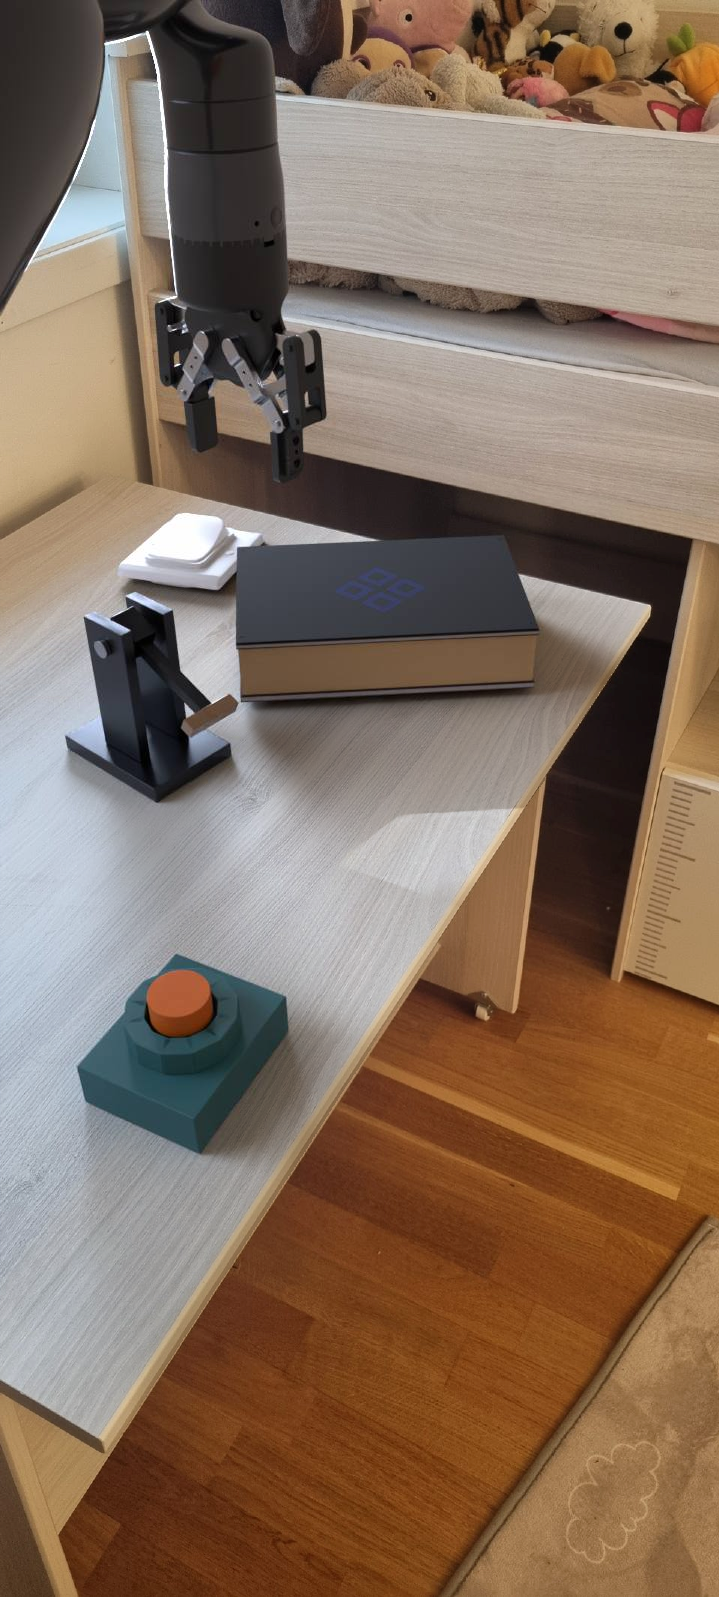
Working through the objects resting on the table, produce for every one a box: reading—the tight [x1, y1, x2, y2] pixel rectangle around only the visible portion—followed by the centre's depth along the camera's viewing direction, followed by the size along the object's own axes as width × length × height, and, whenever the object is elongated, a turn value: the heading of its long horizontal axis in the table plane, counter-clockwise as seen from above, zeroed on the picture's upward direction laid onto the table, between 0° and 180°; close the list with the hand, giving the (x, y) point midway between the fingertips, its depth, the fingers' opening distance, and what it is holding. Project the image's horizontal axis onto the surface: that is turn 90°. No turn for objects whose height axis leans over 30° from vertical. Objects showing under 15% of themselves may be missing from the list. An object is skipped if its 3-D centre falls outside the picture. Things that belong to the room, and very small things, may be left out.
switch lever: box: [109, 607, 240, 738], centre depth 89 cm, size 11×5×2 cm, turn 49°
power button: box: [147, 970, 213, 1038], centre depth 68 cm, size 4×4×2 cm
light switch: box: [117, 512, 265, 591], centre depth 122 cm, size 11×4×13 cm
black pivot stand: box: [64, 591, 232, 803], centre depth 93 cm, size 11×8×13 cm
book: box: [235, 534, 540, 703], centre depth 107 cm, size 17×25×7 cm
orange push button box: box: [76, 953, 290, 1155], centre depth 70 cm, size 10×8×5 cm
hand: (245, 463), depth 87 cm, fingers open, 8 cm apart
